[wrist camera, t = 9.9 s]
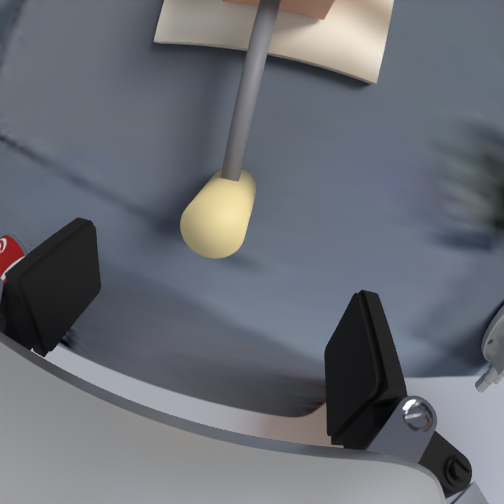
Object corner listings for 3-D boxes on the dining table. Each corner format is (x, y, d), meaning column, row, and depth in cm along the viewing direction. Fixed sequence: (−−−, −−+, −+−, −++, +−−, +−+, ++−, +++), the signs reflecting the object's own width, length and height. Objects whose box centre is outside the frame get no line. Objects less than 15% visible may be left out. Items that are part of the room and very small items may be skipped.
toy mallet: (273, 220, 19) (269, 271, 14) (184, 201, 19) (149, 243, 14) (339, -48, 9) (358, -94, 4) (244, -65, 9) (229, -113, 4)
